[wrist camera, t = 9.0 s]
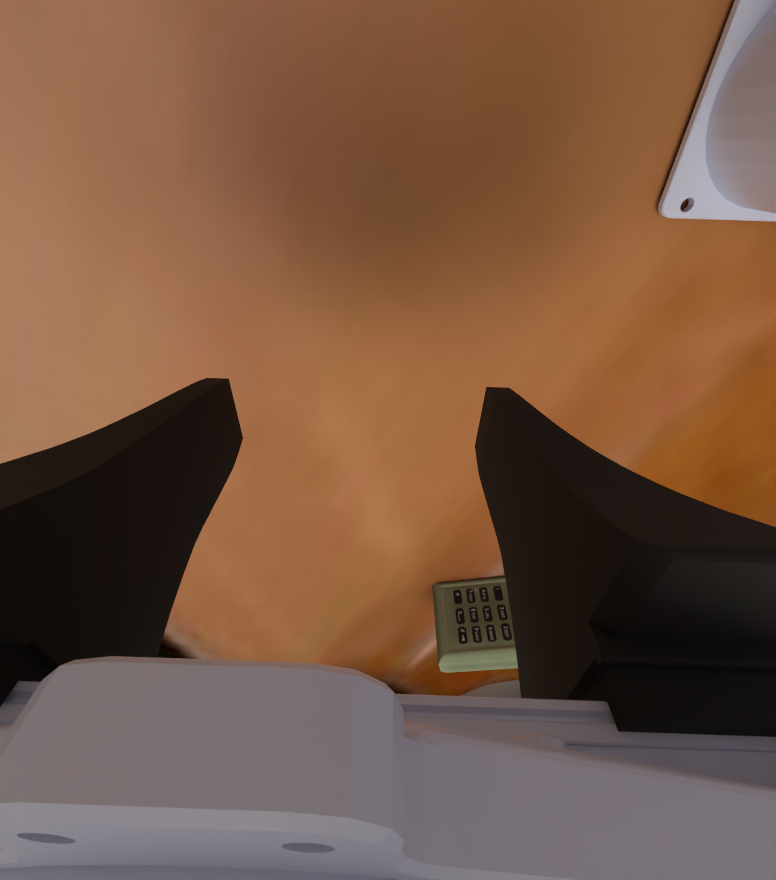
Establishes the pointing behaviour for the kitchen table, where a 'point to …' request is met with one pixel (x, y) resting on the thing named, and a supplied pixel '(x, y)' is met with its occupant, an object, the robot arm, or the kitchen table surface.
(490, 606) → the handheld radio
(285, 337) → the kitchen table surface
